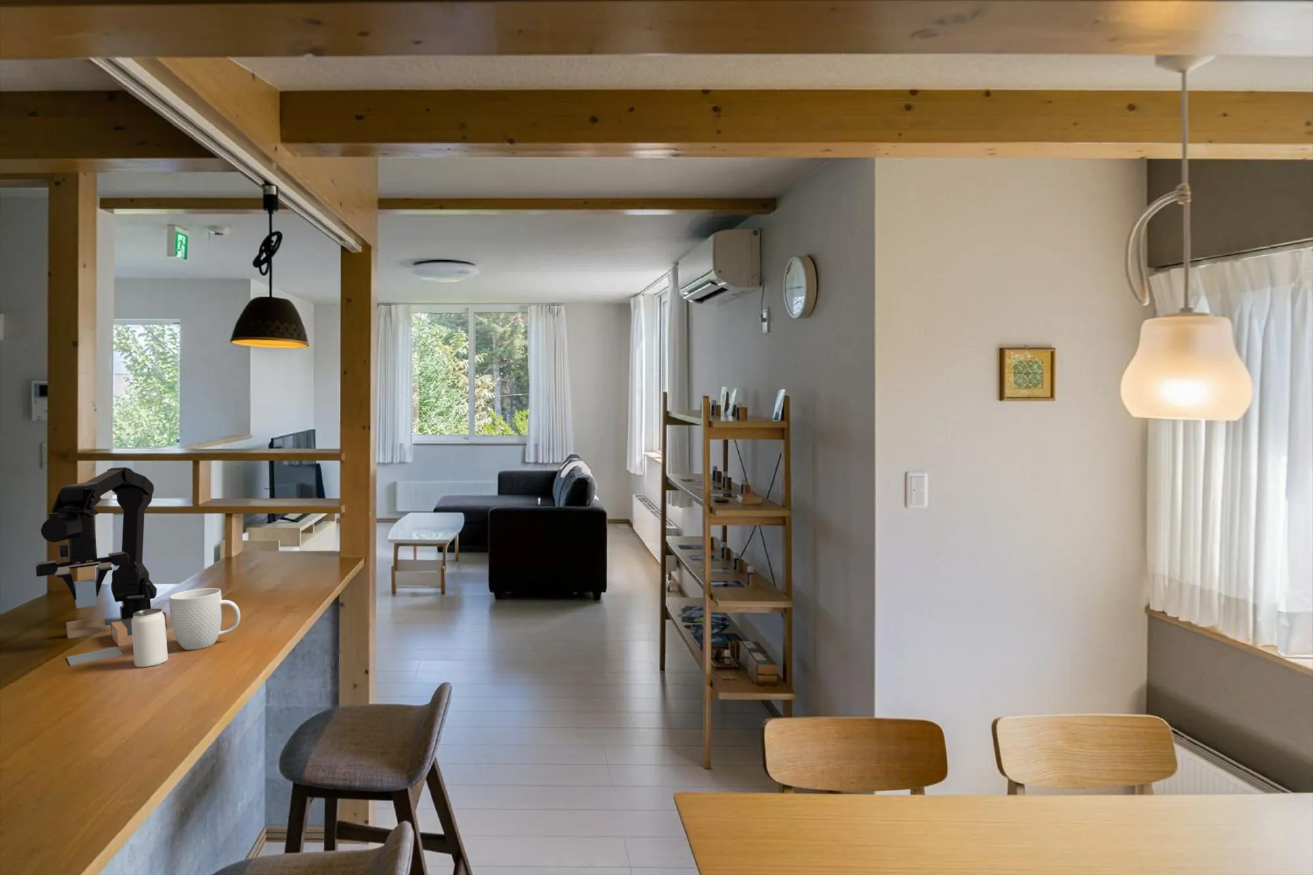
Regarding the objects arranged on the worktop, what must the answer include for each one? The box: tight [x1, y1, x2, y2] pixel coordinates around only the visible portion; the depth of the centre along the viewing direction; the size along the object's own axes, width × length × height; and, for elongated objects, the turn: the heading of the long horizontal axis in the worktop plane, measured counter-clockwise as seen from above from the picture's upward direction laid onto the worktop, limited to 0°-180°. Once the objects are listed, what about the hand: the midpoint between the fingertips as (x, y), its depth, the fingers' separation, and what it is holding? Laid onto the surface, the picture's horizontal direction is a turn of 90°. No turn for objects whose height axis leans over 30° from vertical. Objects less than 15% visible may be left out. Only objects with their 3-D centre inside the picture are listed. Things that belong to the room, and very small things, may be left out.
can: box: [131, 608, 169, 669], centre depth 182 cm, size 6×6×12 cm
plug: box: [73, 578, 98, 609], centre depth 197 cm, size 4×4×6 cm
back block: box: [65, 615, 107, 640], centre depth 208 cm, size 8×2×4 cm, turn 131°
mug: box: [168, 587, 241, 651], centre depth 194 cm, size 15×11×13 cm
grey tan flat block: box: [110, 611, 168, 647], centre depth 204 cm, size 12×12×4 cm
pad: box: [66, 646, 123, 667], centre depth 188 cm, size 10×8×1 cm
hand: (85, 598), depth 197 cm, fingers closed on plug, 4 cm apart
